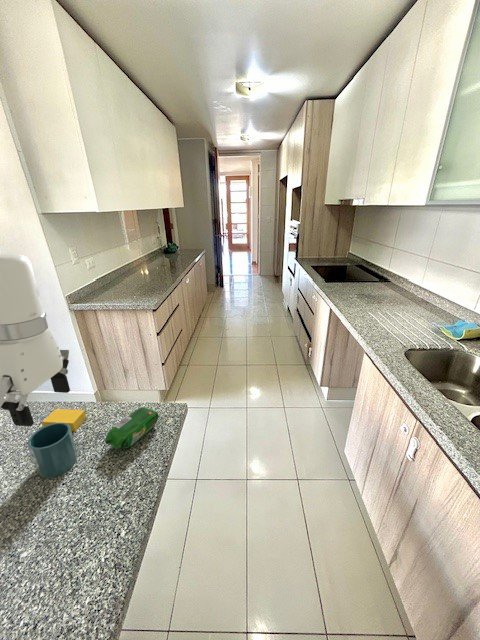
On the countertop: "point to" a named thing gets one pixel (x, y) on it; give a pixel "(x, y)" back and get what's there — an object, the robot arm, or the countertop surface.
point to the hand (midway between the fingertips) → (45, 406)
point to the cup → (53, 450)
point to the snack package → (131, 428)
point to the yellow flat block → (66, 418)
